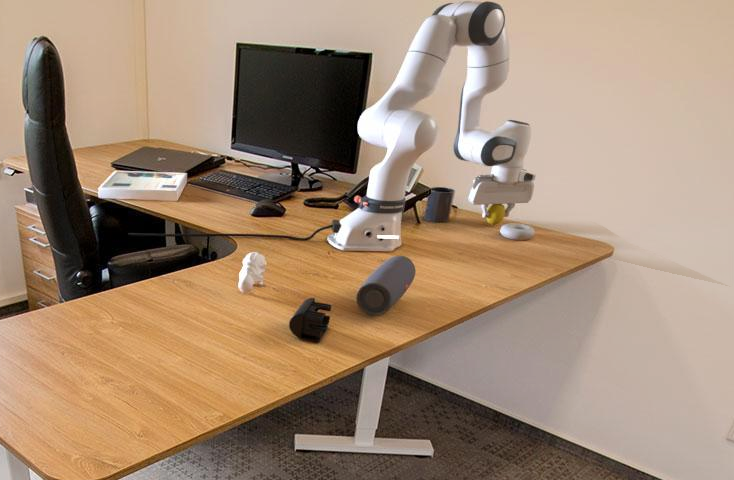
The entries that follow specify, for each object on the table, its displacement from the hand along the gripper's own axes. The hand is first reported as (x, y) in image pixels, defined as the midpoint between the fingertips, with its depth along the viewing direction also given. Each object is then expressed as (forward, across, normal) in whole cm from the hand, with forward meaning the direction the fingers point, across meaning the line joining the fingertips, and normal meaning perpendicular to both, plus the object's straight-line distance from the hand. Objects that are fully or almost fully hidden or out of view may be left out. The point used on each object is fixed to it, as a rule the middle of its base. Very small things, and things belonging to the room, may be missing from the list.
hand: (494, 216), depth 228 cm
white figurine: (+3, -94, -45) cm, 104 cm away
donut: (+3, +1, -12) cm, 13 cm away
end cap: (+3, -87, -74) cm, 114 cm away
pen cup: (+3, -15, +10) cm, 18 cm away
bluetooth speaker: (+3, -63, -60) cm, 87 cm away
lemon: (+3, 0, 0) cm, 3 cm away
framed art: (+3, -111, +64) cm, 128 cm away
